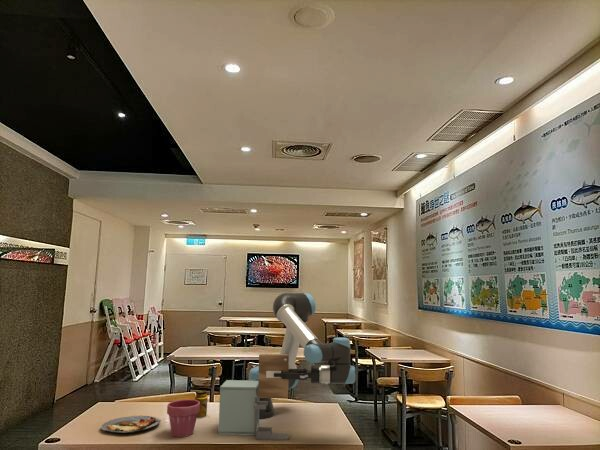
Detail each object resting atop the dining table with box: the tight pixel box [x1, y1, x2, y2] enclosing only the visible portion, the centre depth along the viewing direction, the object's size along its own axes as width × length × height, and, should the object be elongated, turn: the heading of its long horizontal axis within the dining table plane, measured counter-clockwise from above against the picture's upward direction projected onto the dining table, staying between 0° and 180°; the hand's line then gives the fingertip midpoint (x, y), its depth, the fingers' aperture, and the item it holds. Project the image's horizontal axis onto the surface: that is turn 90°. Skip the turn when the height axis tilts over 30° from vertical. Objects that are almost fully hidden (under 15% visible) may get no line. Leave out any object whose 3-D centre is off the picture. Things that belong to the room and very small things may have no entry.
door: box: [258, 353, 289, 399], centre depth 184 cm, size 4×13×18 cm, turn 88°
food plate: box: [100, 414, 161, 434], centre depth 192 cm, size 25×23×4 cm
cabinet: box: [218, 379, 290, 441], centre depth 188 cm, size 20×31×20 cm, turn 88°
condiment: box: [194, 389, 210, 420], centre depth 210 cm, size 7×8×12 cm
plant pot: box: [166, 399, 200, 438], centre depth 185 cm, size 14×14×13 cm
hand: (266, 373), depth 185 cm, fingers closed on door, 3 cm apart
